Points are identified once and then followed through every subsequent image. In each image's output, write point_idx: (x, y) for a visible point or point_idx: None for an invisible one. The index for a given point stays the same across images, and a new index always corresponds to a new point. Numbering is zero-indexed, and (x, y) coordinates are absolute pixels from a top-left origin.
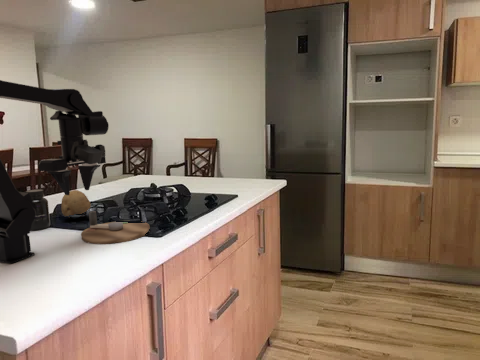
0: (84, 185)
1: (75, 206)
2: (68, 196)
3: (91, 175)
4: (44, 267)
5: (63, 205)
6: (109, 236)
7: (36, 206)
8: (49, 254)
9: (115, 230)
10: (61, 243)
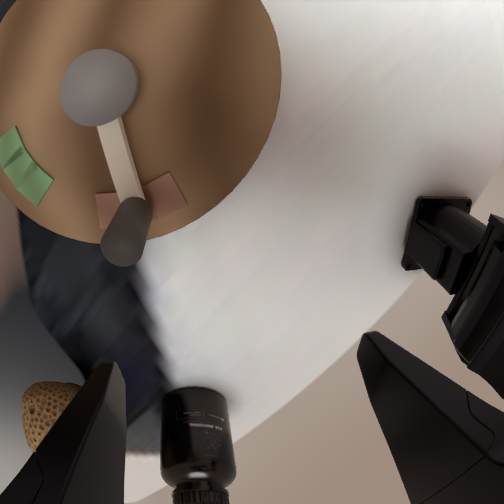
0: (122, 424)
1: None
2: None
3: (32, 487)
4: (475, 90)
5: None
6: (218, 25)
7: (218, 456)
8: (407, 154)
9: None
10: (306, 211)
